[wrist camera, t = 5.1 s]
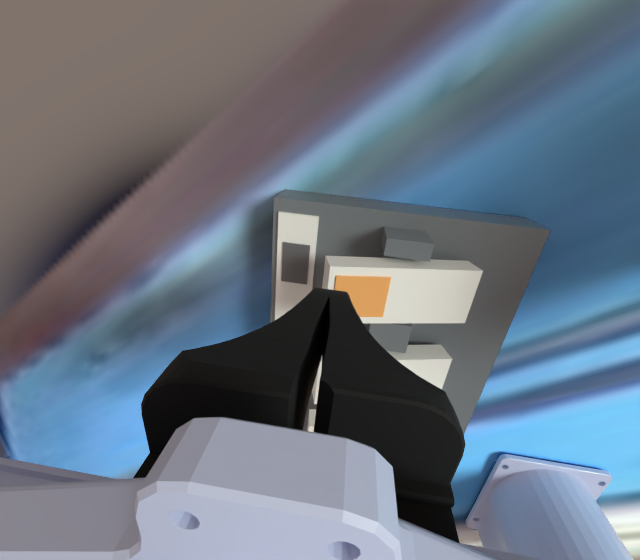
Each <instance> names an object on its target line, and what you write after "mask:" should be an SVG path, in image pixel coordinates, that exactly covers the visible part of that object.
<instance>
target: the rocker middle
mask: <svg viewBox="0 0 640 560" xmlns="http://www.w3.org/2000/svg"><path fill="white" fill-rule="evenodd" d="M386 351H387V350H386ZM387 352H388V353H389V354H390V355H392V356H393V357H394V358H395V359H396V360H397V361H399V362H400V363H401V364H402V365H404V366H405V367H406V368H408V369H409V370H411V371H412V372H414V373H415V374H416V375H418V376H419V377H421V378H423V379H424V380H426V381H428V382H430V383H431V384H433V385H435V386H436V387H438V388H440V389H442V387H443V384H444V381H445V379H446V376H447V373H448V370H449V367H450V364H451V361H452V358H451V357H450V355H449V354H448V353H447V351H446V350H445V349H444V348H443V346H442V345H408V346H407V350H406V353H400V352H393V351H387ZM321 371H322V357H321V361H320V364H319V368H318V371H317V375H316V378H315V382H314V385H313V389H312V394H313V400H314V404H317V399H318V391H319V383H320V377H321Z"/></svg>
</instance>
